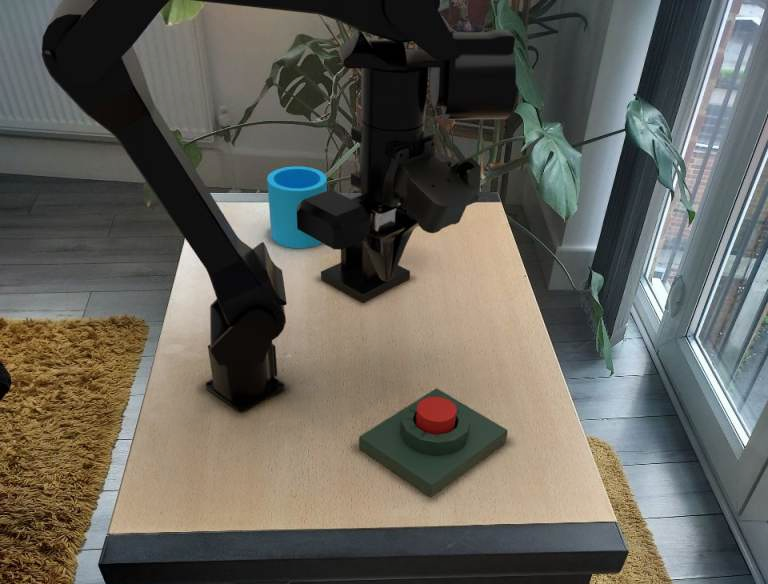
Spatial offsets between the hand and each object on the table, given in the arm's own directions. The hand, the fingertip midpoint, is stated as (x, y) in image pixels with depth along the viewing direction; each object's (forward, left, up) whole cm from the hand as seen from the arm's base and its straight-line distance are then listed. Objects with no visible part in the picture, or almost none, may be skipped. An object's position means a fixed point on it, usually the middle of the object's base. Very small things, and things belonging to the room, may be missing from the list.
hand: (385, 279), depth 81 cm
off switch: (-4, -12, -13) cm, 18 cm away
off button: (-4, -12, -10) cm, 16 cm away
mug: (+18, +34, -13) cm, 41 cm away
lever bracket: (+15, +17, -13) cm, 26 cm away
